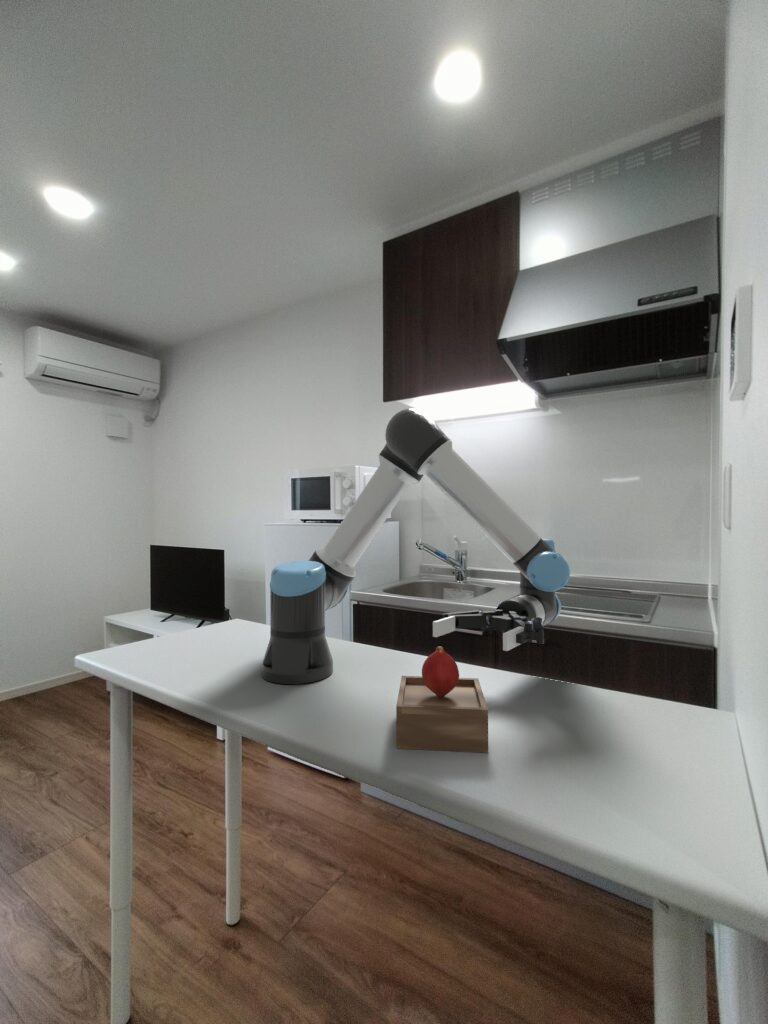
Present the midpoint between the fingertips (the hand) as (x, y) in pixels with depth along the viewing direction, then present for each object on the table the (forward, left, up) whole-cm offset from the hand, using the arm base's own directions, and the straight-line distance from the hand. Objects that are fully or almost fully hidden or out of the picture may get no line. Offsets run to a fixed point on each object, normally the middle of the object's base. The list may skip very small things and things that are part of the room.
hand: (467, 635), depth 78 cm
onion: (+7, -5, -8) cm, 12 cm away
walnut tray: (+7, -5, -13) cm, 16 cm away
